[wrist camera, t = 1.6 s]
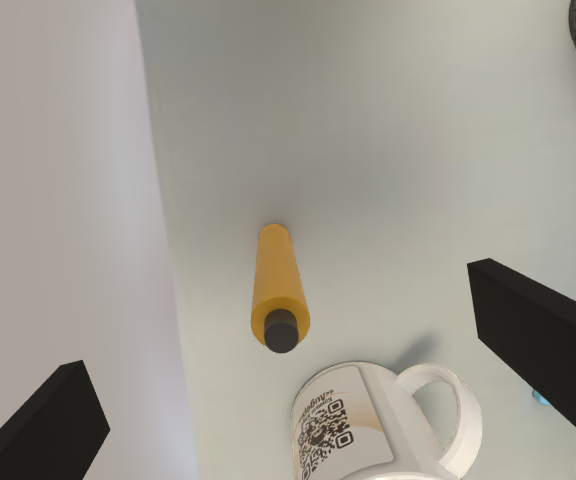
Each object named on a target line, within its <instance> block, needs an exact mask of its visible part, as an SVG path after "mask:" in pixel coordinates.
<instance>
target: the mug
mask: <svg viewBox="0 0 576 480" xmlns="http://www.w3.org/2000/svg"><path fill="white" fill-rule="evenodd" d="M431 382H444V383H448V384H449V385H450V386H451V388H452V390H453V392H454V394H455V397H456V401H457V409H458V414H457V423H456V427H455V431H454V433H453V436H452V438H451V440H450V442H449V443H448V445H447V446H446V448H445V449H444V448H443V446H442V444H441V443H440V441H439V439H438V438H437V436H436V434H435V432H434V431H433V429H432V427H431V426H430V424H429V422H428V420H427V419H426V417H425V415H424V413H423V412H422V410H421V408H420V407H419V405H418V403H417V401H416V400H415V398H414V396H413V394H414V393H415V392H416V391H417V390H418V389H419V388H421V387H422V386H424V385H425V384H428V383H431ZM290 427H291V439H292V451H293V463H294V475H295V480H462V479H461V477H463V475H464V474H465V473H466V472H467V471H468V470H469V468H470V467H471V465H472V464H473V462H474V460H475V458H476V456H477V453H478V451H479V447H480V444H481V439H482V431H483V428H482V415H481V410H480V406H479V403H478V401H477V399H476V397H475V394H474V393H473V391H472V390H471V389H470V387H469V386H468V385H467V384H466V383H465V382H464V381H463V380H461V379H460V378H459V377H458V376H457V375H455V374H454V373H453V372H452V371H450V370H449V369H448V368H446V367H444V366H442V365H440V364H436V363H422V364H418V365H415V366H412V367H410V368H408V369H406V370H404V371H403V372H402V373H400V374H399V375H398V376H397V375H396V374H395V373H393V372H392V371H390V370H388V369H386V368H384V367H382V366H379V365H376V364H372V363H366V362H348V363H342V364H338V365H335V366H332V367H329V368H327V369H325V370H323V371H321V372H320V373H318V374H317V375H315V376H314V377H313V378H312V379H311V380H309V381H308V382H307V383H306V384H305V386H304V387H303V388H302V389H301V391H300V392H299V394H298V396H297V398H296V399H295V402H294V404H293V407H292V411H291V417H290Z"/></svg>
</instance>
